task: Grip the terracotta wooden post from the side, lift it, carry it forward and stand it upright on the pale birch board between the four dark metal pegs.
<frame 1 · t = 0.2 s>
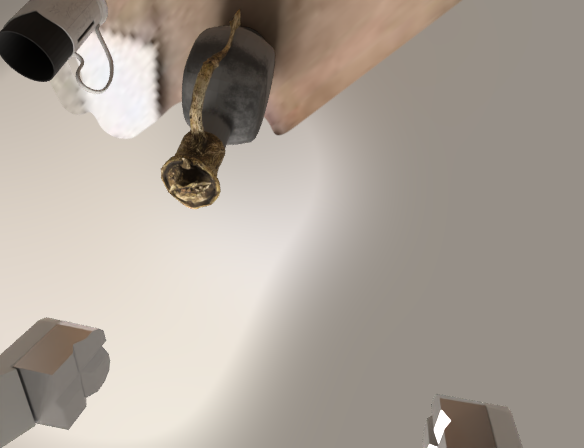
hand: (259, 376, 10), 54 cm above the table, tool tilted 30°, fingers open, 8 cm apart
glass holder: (96, 11, 65), on the table
pitcher: (247, 39, 64), on the table
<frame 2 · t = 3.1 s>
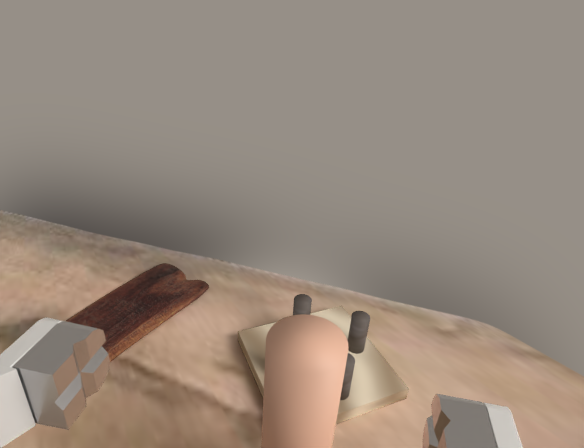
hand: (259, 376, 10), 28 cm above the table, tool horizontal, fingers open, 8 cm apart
peg stand: (316, 367, 47), on the table
wooden tablet: (110, 330, 51), on the table
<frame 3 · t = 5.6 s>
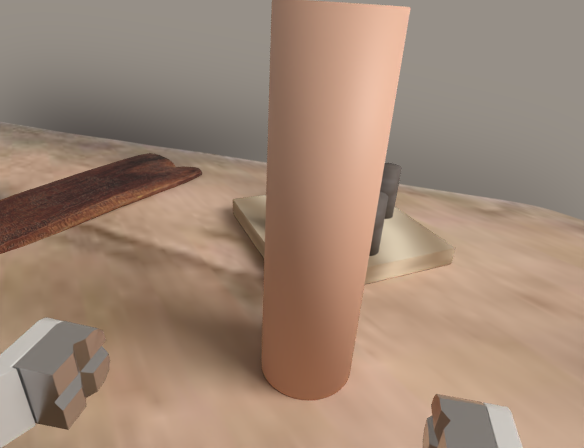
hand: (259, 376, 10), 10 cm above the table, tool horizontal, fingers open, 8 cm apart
peg stand: (333, 236, 37), on the table
post: (305, 362, 24), on the table
wooden tablet: (77, 206, 41), on the table
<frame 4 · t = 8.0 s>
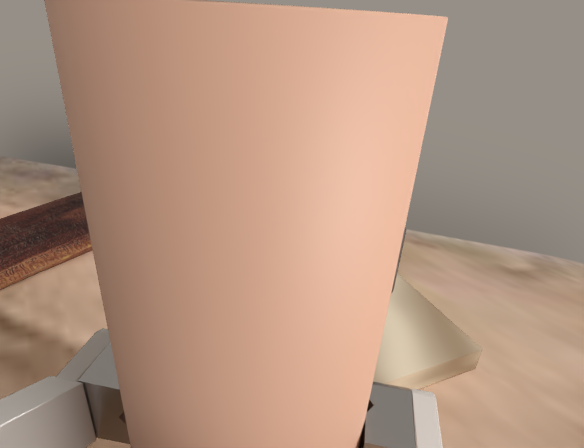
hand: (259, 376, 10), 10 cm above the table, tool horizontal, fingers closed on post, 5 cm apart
peg stand: (313, 319, 27), on the table
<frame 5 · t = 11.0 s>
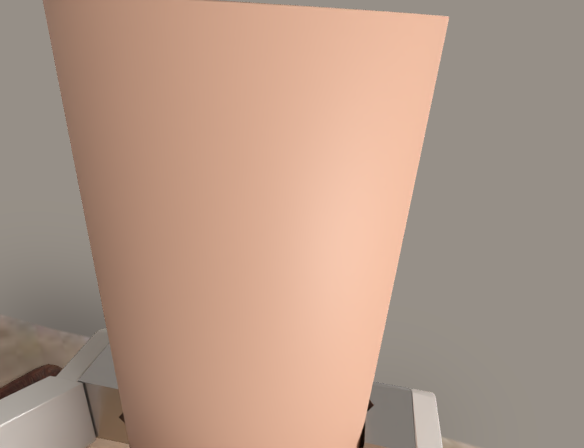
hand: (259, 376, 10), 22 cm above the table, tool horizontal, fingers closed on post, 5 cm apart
when the fingers open (13 cm above the table, at t = 13.9 s): post drops 1 cm, resting on peg stand.
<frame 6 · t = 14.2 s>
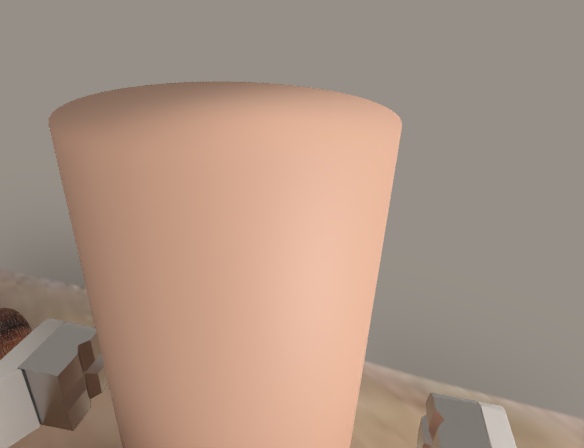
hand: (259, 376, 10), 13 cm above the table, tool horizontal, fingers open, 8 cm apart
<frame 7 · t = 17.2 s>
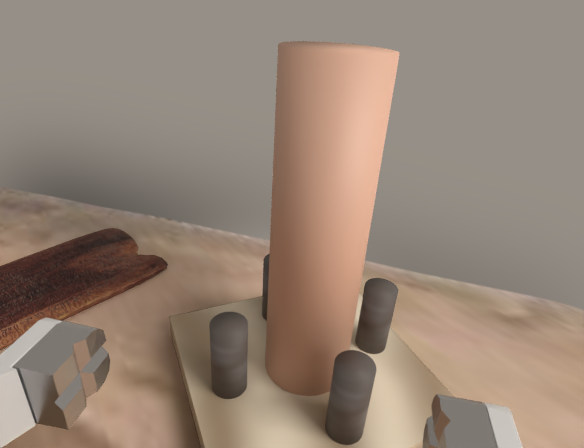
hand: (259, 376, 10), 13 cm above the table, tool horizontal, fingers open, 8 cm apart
peg stand: (303, 379, 27), on the table
post: (305, 362, 26), point 2 cm above the table, touching peg stand
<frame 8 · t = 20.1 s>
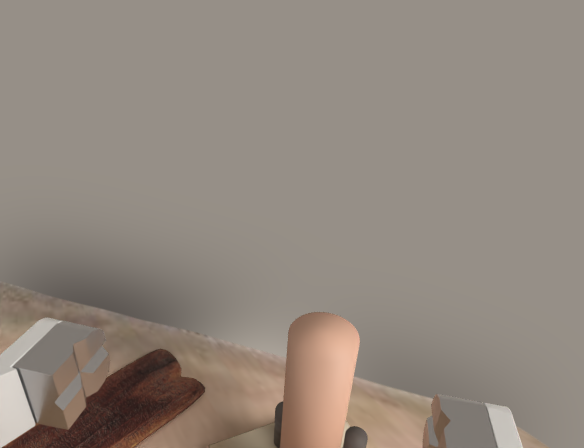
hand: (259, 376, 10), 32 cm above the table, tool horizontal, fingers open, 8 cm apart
wooden tablet: (76, 445, 42), on the table
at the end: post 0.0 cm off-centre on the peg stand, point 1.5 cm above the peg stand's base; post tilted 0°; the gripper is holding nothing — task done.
